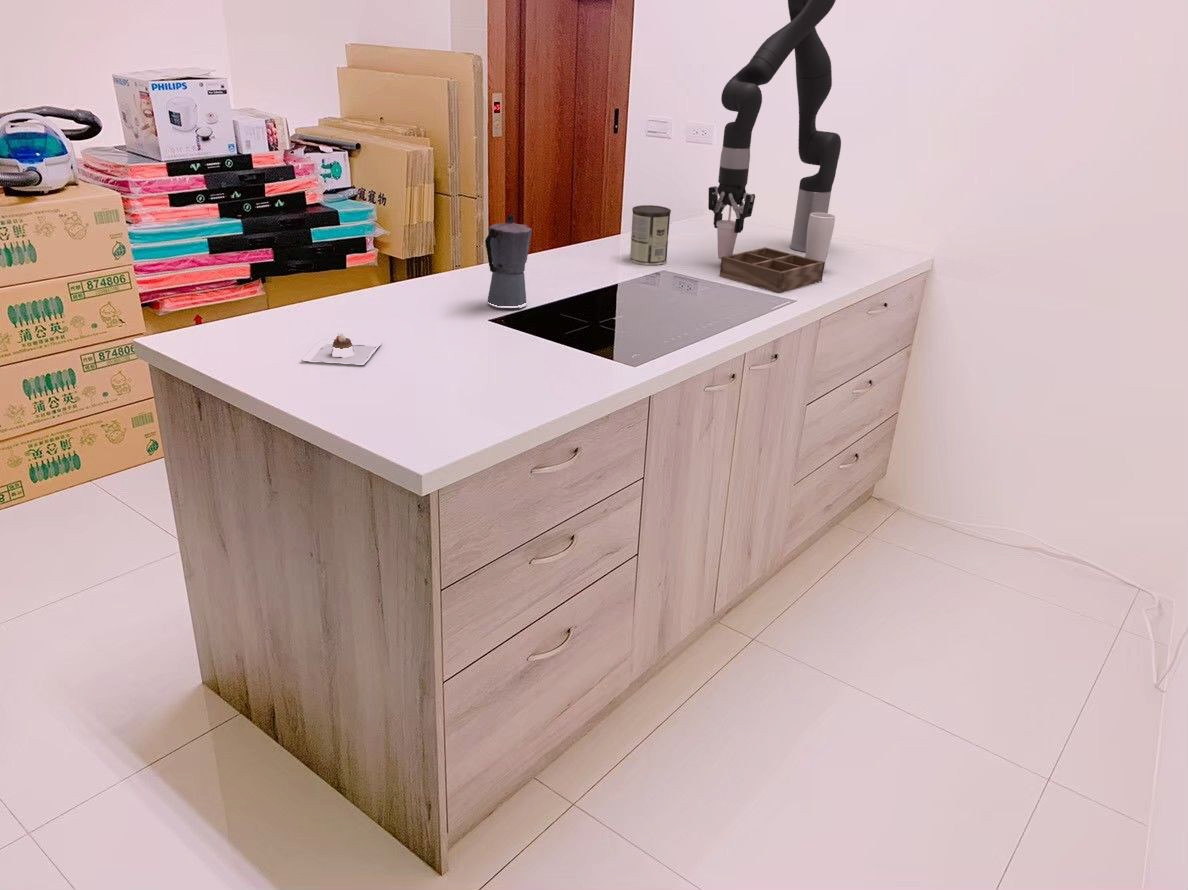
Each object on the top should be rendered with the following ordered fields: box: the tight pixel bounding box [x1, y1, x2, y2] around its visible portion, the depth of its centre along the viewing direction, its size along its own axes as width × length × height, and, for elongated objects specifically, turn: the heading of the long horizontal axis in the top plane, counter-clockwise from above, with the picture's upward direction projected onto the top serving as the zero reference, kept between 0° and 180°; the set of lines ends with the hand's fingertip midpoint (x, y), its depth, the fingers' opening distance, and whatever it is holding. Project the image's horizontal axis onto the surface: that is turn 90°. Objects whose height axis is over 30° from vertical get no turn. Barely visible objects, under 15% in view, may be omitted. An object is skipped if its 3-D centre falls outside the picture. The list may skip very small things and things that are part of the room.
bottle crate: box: [719, 247, 826, 294], centre depth 227 cm, size 19×19×5 cm
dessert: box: [332, 332, 352, 349], centre depth 164 cm, size 12×12×5 cm
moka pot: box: [484, 214, 533, 306], centre depth 192 cm, size 10×15×20 cm, turn 155°
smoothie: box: [716, 206, 739, 260], centre depth 233 cm, size 6×6×14 cm
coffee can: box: [629, 204, 672, 266], centre depth 236 cm, size 10×10×14 cm
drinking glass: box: [804, 212, 836, 268], centre depth 234 cm, size 7×7×15 cm
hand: (727, 229), depth 233 cm, fingers closed on smoothie, 6 cm apart
